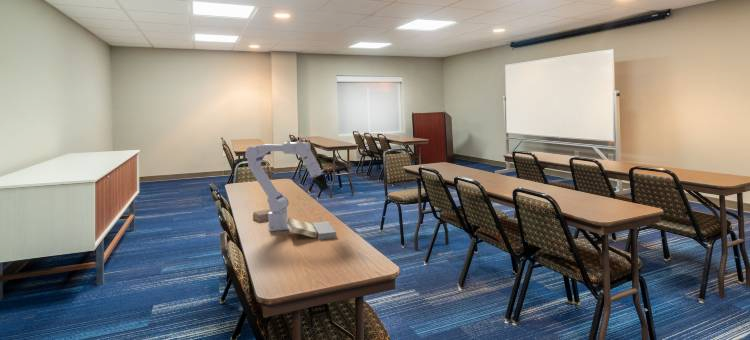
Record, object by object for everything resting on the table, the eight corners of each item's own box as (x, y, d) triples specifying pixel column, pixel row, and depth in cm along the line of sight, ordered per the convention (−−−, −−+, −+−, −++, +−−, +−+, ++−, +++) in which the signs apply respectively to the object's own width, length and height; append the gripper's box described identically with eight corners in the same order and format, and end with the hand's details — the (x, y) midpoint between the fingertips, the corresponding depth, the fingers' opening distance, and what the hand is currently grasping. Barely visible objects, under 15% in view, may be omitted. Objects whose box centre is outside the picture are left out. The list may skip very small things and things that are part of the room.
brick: (259, 222, 229) (258, 214, 229) (252, 219, 236) (251, 211, 235) (286, 217, 240) (286, 209, 239) (279, 214, 246) (279, 206, 246)
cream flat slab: (290, 231, 194) (292, 226, 194) (287, 222, 210) (288, 218, 209) (315, 237, 198) (317, 232, 198) (310, 228, 213) (312, 223, 213)
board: (319, 239, 197) (318, 233, 196) (312, 228, 216) (312, 222, 215) (336, 237, 199) (335, 231, 199) (328, 226, 218) (327, 221, 218)
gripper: (320, 159, 201) (334, 184, 201) (317, 162, 215) (330, 186, 215) (307, 166, 199) (321, 191, 199) (304, 169, 213) (317, 193, 213)
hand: (325, 189), depth 207 cm, fingers open, 7 cm apart
